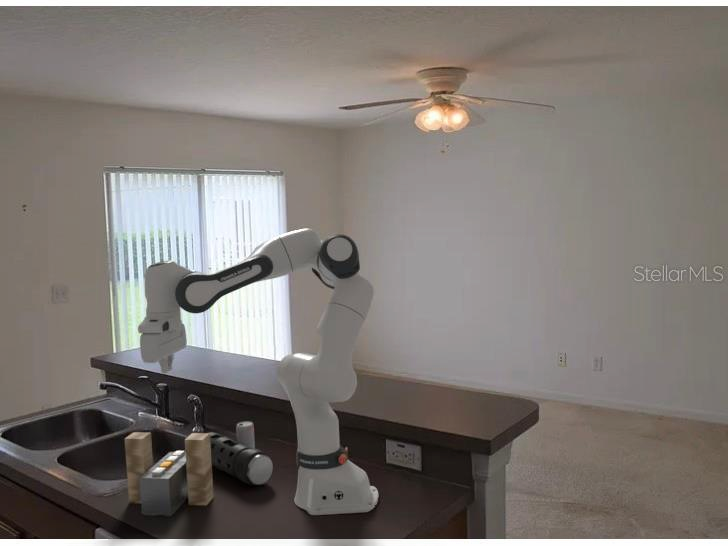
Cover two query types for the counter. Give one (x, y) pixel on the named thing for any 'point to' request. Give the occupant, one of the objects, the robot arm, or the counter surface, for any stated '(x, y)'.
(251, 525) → the counter surface
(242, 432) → the energy drink
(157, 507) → the button box
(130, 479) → the oak post
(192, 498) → the oak post
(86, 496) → the counter surface
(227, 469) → the muzzle brake
